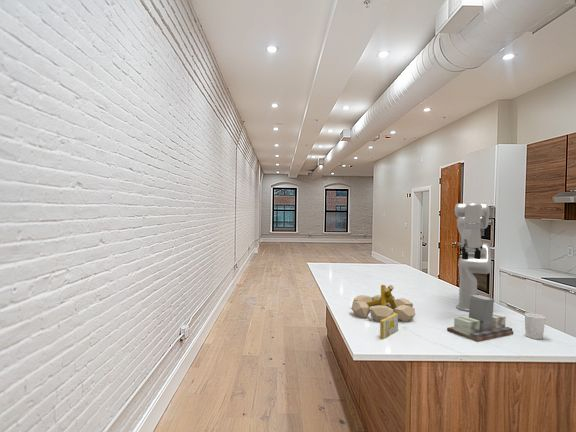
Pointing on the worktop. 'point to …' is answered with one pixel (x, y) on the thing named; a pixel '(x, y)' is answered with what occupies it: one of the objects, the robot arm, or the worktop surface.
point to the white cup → (534, 325)
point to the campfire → (383, 306)
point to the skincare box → (482, 311)
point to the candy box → (388, 326)
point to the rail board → (471, 327)
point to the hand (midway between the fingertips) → (471, 259)
